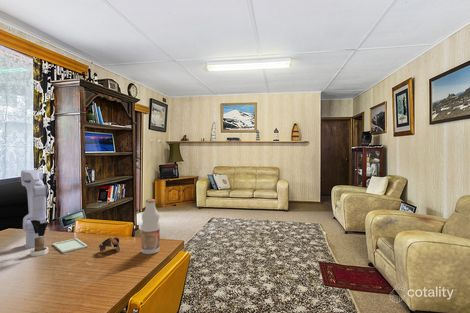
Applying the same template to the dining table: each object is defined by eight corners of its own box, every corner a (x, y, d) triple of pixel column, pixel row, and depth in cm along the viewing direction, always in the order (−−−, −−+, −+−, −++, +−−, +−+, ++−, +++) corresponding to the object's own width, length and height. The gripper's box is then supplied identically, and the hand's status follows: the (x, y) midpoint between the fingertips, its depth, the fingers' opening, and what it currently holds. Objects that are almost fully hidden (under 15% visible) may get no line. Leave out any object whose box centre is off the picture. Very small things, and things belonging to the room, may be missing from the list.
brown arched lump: (116, 255, 135) (107, 243, 133) (102, 262, 136) (93, 250, 134) (127, 242, 146) (119, 230, 144) (113, 248, 148) (105, 237, 146)
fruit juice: (137, 251, 139) (138, 199, 139) (153, 246, 146) (153, 197, 146) (147, 256, 133) (147, 202, 133) (163, 251, 140) (163, 199, 140)
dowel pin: (33, 253, 134) (33, 238, 134) (43, 251, 137) (43, 236, 137) (35, 255, 132) (35, 239, 132) (45, 253, 135) (45, 237, 135)
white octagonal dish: (29, 254, 134) (29, 249, 134) (45, 250, 140) (45, 245, 140) (32, 258, 129) (32, 253, 129) (49, 254, 135) (49, 249, 135)
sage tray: (52, 245, 146) (52, 243, 146) (76, 240, 155) (76, 238, 155) (62, 254, 135) (62, 251, 135) (87, 248, 144) (87, 245, 144)
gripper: (26, 207, 136) (26, 233, 136) (33, 212, 126) (33, 239, 127) (42, 205, 141) (42, 230, 141) (50, 209, 132) (50, 236, 132)
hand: (39, 234), depth 134 cm, fingers open, 7 cm apart
